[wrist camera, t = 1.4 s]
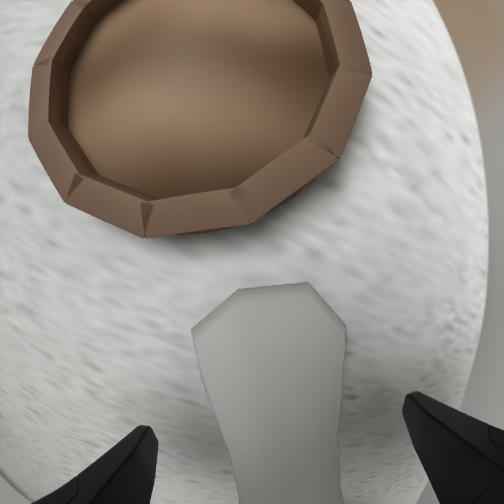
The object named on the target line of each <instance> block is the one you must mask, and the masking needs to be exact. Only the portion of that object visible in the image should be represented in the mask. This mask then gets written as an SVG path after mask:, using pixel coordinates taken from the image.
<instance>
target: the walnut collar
mask: <svg viewBox="0 0 504 504" xmlns="http://www.w3.org/2000/svg"><path fill="white" fill-rule="evenodd" d="M34 65H35V66H33V69H32V78H31V87H30V100H29V123H28V137H29V141H30V143H31V145H32V146H33V148H34V150H35V152H36V154H37V156H38V158H39V160H40V162H41V163H42V165H43V167H44V169H45V170H46V172H47V174H48V176H49V177H50V179H51V181H52V183H53V184H54V186H55V188H56V189H57V191H58V193H59V194H60V196H61V198H62V199H63V201H64V202H66V204H68V205H70V206H73V207H75V208H77V209H79V210H81V211H83V212H86V213H88V214H90V215H92V216H94V217H97V218H99V219H101V220H103V221H106V222H108V223H110V224H112V225H114V226H117V227H119V228H121V229H124V230H126V231H128V232H130V233H133V234H135V235H137V236H139V237H142V238H144V237H145V238H151V237H158V236H165V235H172V234H176V235H184V234H198V233H207V232H212V231H217V230H222V229H227V228H230V227H233V226H239V225H247V224H249V221H251V223H253V222H254V221H256V220H257V219H258V218H260V217H261V216H262V215H264V214H266V213H268V212H270V211H272V210H274V209H276V208H277V207H279V206H281V205H282V204H284V203H285V202H287V201H288V200H290V199H292V198H293V197H295V196H296V195H297V194H298V193H299V192H301V191H302V190H303V189H304V188H305V187H307V186H308V185H309V184H310V183H311V182H313V181H314V180H315V178H316V177H317V176H318V175H319V174H320V173H321V172H322V171H324V170H325V169H327V168H328V167H329V166H331V165H332V164H334V163H335V162H336V161H338V159H339V158H340V157H341V155H342V152H343V150H344V147H345V145H346V142H347V140H348V137H349V135H350V132H351V130H352V127H353V125H354V122H355V120H356V117H357V115H358V112H359V110H360V107H361V104H362V102H363V99H364V96H365V94H366V91H367V89H368V86H369V83H370V80H371V78H372V75H371V74H372V70H371V66H370V62H369V58H368V54H367V51H366V47H365V44H364V40H363V37H362V33H361V30H360V27H359V24H358V21H357V18H356V15H355V12H354V9H353V6H352V3H351V1H349V0H73V1H71V3H70V4H69V5H68V7H67V8H66V10H65V11H64V13H63V14H62V16H61V17H60V19H59V20H58V22H57V23H56V25H55V27H54V28H53V30H52V32H51V33H50V35H49V37H48V38H47V40H46V42H45V44H44V46H43V47H42V49H41V51H40V53H39V55H38V57H37V59H36V61H35V63H34Z"/></svg>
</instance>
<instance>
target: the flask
mask: <svg viewBox="0 0 504 504" xmlns="http://www.w3.org/2000/svg"><path fill="white" fill-rule="evenodd" d="M191 332H192V337H193V341H194V346H195V351H196V355H197V360H198V364H199V368H200V373H201V377H202V381H203V384H204V387H205V390H206V393H207V396H208V398H209V401H210V404H211V406H212V409H213V411H214V414H215V416H216V419H217V421H218V424H219V427H220V430H221V432H222V435H223V438H224V441H225V443H226V446H227V449H228V452H229V454H230V457H231V460H232V466H233V471H234V476H235V481H236V486H237V491H238V496H239V504H344V502H343V498H342V494H341V490H340V469H339V452H338V430H339V419H340V407H341V392H342V380H343V368H344V354H345V338H346V325H345V324H344V323H343V322H342V321H341V319H340V318H339V317H338V316H337V315H336V314H335V313H334V311H333V310H332V309H331V308H330V307H329V306H328V305H327V304H326V302H325V301H324V300H323V299H322V298H321V297H320V296H319V294H318V293H317V292H316V291H315V290H314V289H313V288H312V287H311V285H310V284H309V283H308V282H305V283H296V284H286V285H276V286H266V287H256V288H245V289H238V290H237V291H236V292H234V293H233V294H232V295H231V296H230V297H229V298H227V299H226V300H225V301H224V302H223V303H222V304H220V305H219V306H218V307H217V308H216V309H215V310H213V311H212V312H211V313H210V314H209V315H208V316H206V317H205V318H204V319H203V320H202V321H200V322H199V323H198V324H197V325H196V326H195V327H193V328H192V329H191Z"/></svg>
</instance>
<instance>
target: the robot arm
mask: <svg viewBox="0 0 504 504" xmlns="http://www.w3.org/2000/svg"><path fill="white" fill-rule="evenodd" d="M402 414H403V417H404V420H405V423H406V426H407V429H408V431H409V434H410V437H411V440H412V443H413V446H414V448H415V450H416V453H417V455H418V457H419V459H420V461H421V463H422V465H423V467H424V469H425V472H426V474H427V476H428V478H429V480H430V482H431V485H432V487H433V489H434V491H435V493H436V496H437V498H438V500H439V503H440V504H504V430H501V429H499V428H496V427H494V426H492V425H488V424H487V423H484V422H482V421H480V420H477V419H475V418H473V417H471V416H469V415H467V414H465V413H462V412H460V411H458V410H456V409H454V408H452V407H450V406H447V405H445V404H443V403H441V402H439V401H437V400H435V399H433V398H431V397H429V396H427V395H425V394H423V393H421V392H418V391H414V392H411V393H408V394H407V395H406V397H405V401H404V405H403V409H402ZM157 454H158V440H157V438H156V436H155V434H154V432H153V430H152V428H151V427H150V426H146V425H139V426H137V427H136V428H135V429H134V430H133V431H132V432H130V433H129V434H128V435H127V436H126V437H124V438H123V439H122V440H121V441H120V442H118V443H117V444H116V445H115V446H113V447H112V448H111V449H110V450H109V451H107V452H106V453H105V454H104V455H102V456H101V457H100V458H99V459H97V460H96V461H95V462H94V463H92V464H91V465H90V466H88V467H87V468H86V469H85V470H83V471H82V472H81V473H79V474H78V475H77V476H75V477H74V478H73V479H71V480H70V481H69V482H67V483H66V484H64V485H63V486H62V487H60V488H58V489H57V490H55V491H53V492H52V493H50V494H48V495H46V496H45V497H43V498H41V499H39V500H37V501H35V502H33V503H32V504H150V499H151V495H152V490H153V486H154V481H155V474H156V464H157Z"/></svg>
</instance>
